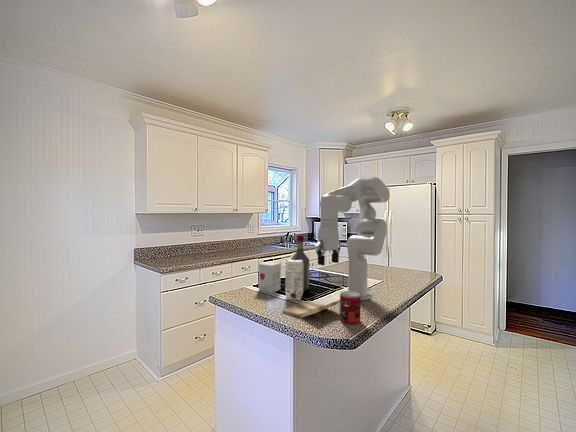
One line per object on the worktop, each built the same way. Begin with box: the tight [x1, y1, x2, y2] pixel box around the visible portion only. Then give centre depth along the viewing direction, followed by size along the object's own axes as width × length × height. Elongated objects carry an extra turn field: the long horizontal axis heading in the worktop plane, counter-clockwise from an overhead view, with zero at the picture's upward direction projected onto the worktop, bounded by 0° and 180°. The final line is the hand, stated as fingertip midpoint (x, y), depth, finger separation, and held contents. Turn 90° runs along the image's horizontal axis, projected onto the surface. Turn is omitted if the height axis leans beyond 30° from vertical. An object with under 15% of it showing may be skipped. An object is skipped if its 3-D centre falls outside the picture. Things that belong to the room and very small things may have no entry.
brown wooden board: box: [282, 300, 325, 319], centre depth 128 cm, size 18×9×1 cm, turn 137°
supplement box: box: [258, 261, 282, 294], centre depth 159 cm, size 9×9×15 cm
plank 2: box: [316, 299, 340, 309], centre depth 125 cm, size 8×10×1 cm
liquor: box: [290, 234, 310, 291], centre depth 164 cm, size 9×9×30 cm
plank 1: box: [300, 304, 330, 319], centre depth 119 cm, size 8×10×1 cm
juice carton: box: [284, 258, 304, 301], centre depth 145 cm, size 8×9×19 cm
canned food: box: [339, 290, 362, 325], centre depth 116 cm, size 8×8×11 cm
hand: (328, 263), depth 125 cm, fingers open, 9 cm apart
